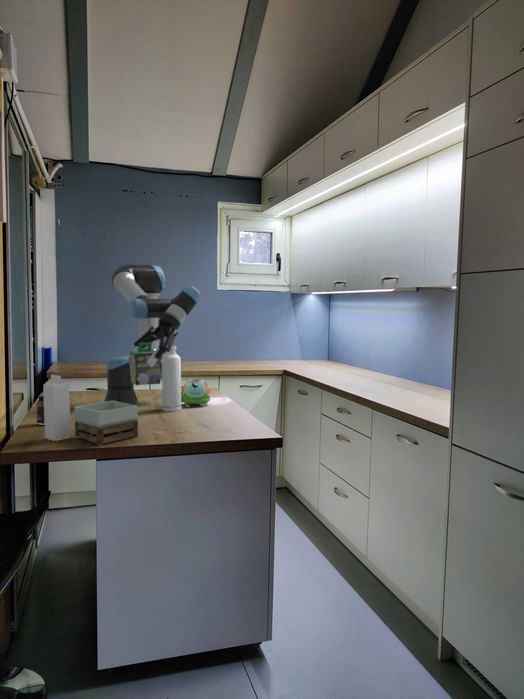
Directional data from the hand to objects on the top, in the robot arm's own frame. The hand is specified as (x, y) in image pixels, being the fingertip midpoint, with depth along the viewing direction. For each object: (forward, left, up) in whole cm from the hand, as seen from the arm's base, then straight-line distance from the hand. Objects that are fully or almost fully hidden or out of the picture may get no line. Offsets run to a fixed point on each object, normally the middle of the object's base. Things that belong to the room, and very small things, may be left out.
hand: (138, 363), depth 180 cm
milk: (-13, -24, -25) cm, 37 cm away
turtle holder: (-24, +47, -25) cm, 58 cm away
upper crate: (-2, -12, -19) cm, 23 cm away
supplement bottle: (-38, -16, -25) cm, 49 cm away
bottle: (-23, +34, -25) cm, 48 cm away
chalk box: (0, +3, -8) cm, 8 cm away
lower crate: (-2, -12, -25) cm, 28 cm away
